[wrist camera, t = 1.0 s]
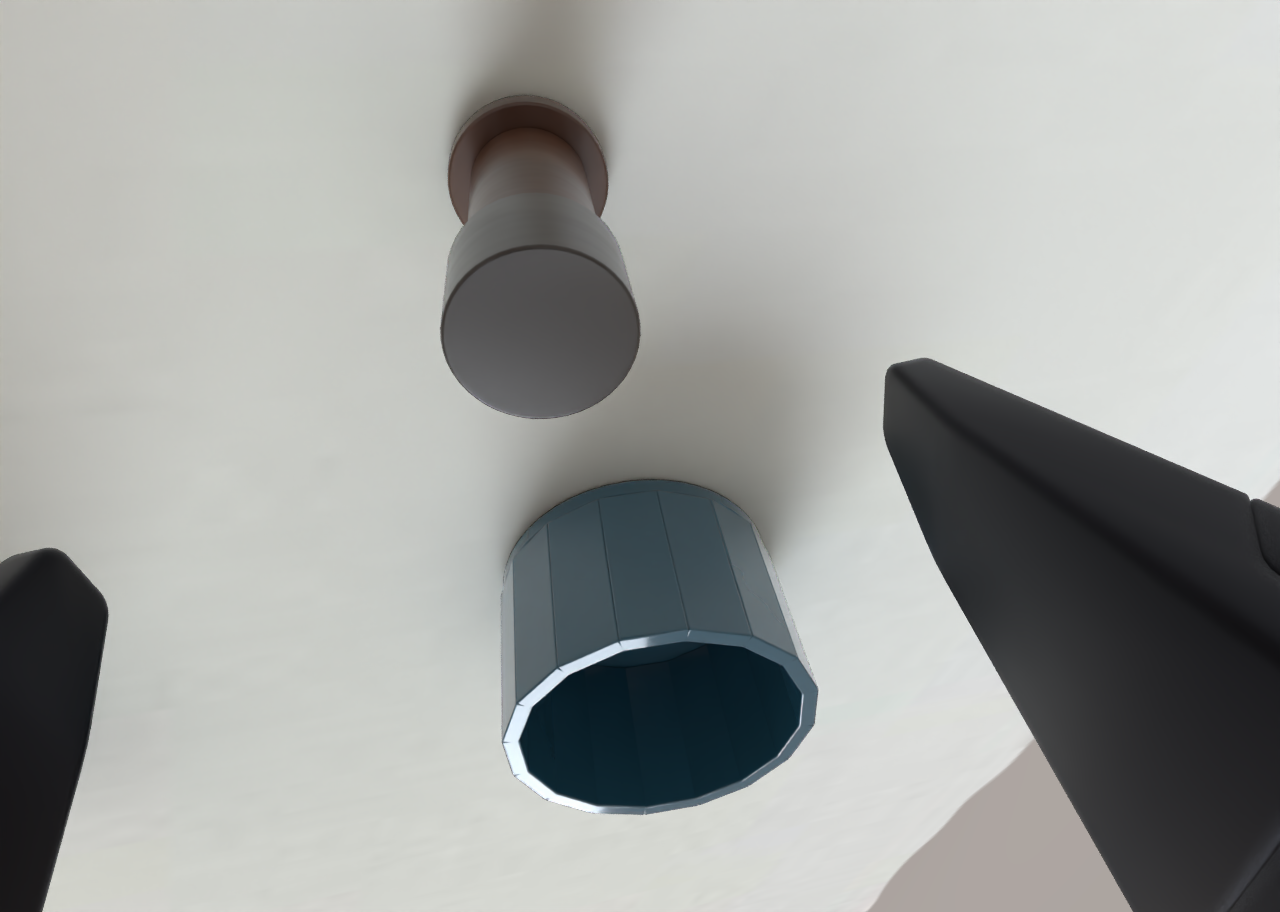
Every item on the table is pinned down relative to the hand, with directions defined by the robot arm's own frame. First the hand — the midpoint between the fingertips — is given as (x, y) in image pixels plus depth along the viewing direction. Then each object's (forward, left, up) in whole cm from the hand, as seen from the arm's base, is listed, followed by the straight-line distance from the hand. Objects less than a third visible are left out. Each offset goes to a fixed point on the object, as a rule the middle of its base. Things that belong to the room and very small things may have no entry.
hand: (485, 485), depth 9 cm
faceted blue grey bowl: (-9, -12, -12) cm, 19 cm away
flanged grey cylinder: (0, -1, -12) cm, 12 cm away
